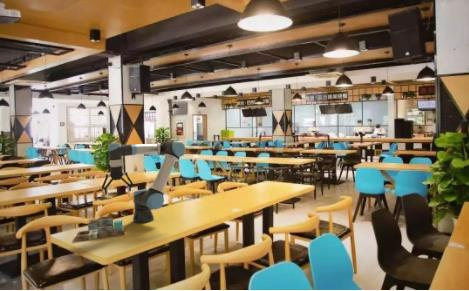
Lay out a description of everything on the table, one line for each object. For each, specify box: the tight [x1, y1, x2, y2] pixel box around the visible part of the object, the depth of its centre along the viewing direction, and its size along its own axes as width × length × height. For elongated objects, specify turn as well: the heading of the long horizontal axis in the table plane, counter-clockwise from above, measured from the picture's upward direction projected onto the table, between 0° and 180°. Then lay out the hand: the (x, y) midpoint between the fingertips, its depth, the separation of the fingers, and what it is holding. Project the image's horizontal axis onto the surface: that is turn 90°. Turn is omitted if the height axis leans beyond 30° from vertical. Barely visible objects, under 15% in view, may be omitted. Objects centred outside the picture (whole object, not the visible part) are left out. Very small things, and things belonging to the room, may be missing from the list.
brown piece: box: [75, 218, 126, 242], centre depth 234 cm, size 29×12×9 cm, turn 106°
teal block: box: [113, 219, 124, 230], centre depth 237 cm, size 5×5×5 cm
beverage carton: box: [87, 216, 112, 230], centre depth 253 cm, size 8×19×7 cm, turn 170°
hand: (118, 197), depth 239 cm, fingers open, 13 cm apart
